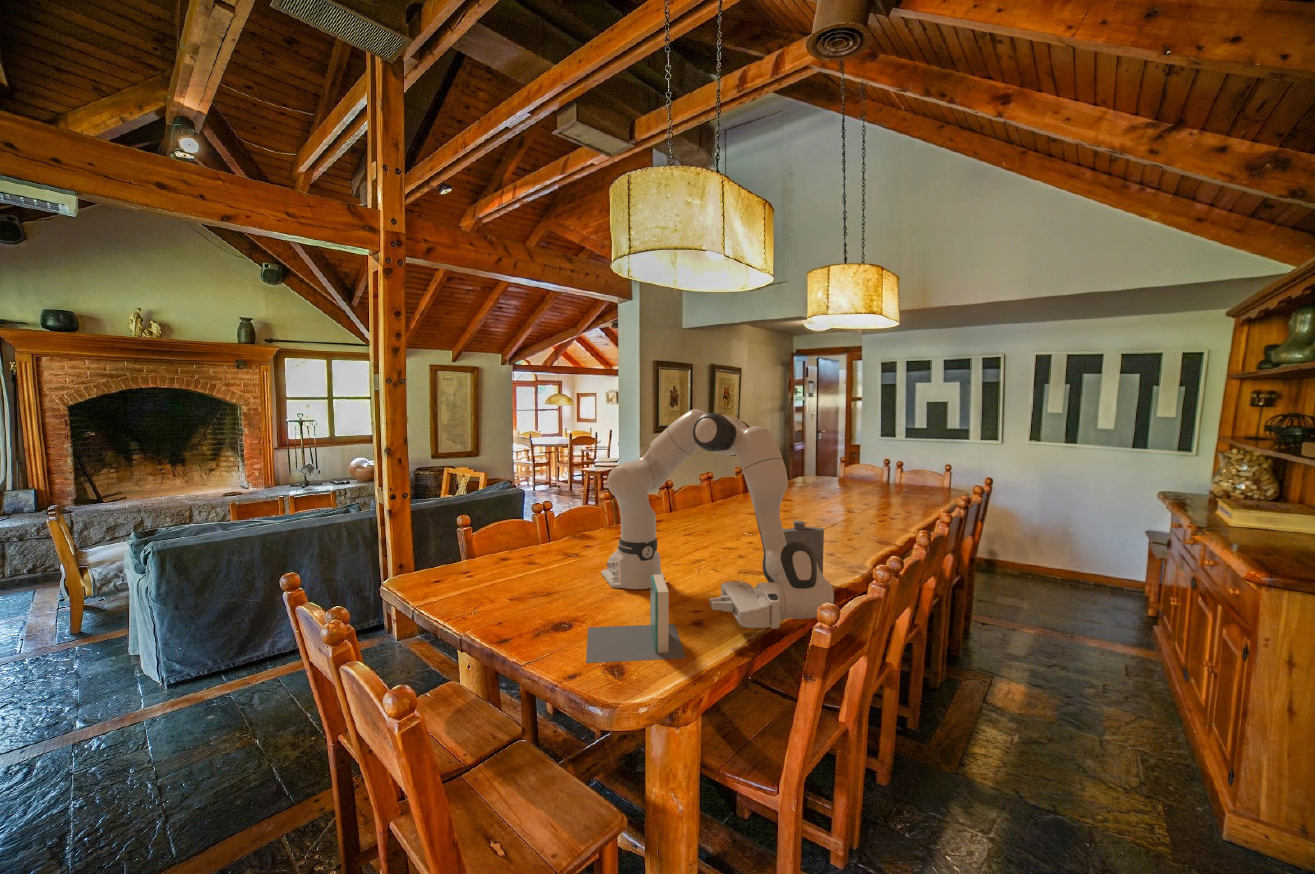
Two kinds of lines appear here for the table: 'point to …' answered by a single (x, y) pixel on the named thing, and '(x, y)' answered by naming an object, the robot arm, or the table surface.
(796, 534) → the hip flask
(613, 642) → the mat
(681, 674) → the table surface
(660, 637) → the tile
